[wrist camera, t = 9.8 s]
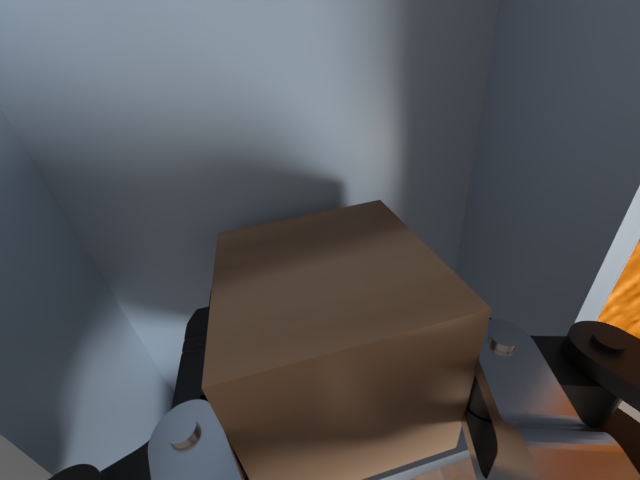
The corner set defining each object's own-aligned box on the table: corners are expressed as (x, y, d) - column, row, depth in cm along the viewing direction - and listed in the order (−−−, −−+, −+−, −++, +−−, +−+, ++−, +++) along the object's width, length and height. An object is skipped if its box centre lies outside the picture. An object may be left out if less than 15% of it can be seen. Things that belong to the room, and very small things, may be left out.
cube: (217, 233, 9) (201, 388, 5) (379, 199, 10) (492, 308, 5) (255, 347, 12) (266, 512, 7) (380, 314, 12) (456, 447, 8)
